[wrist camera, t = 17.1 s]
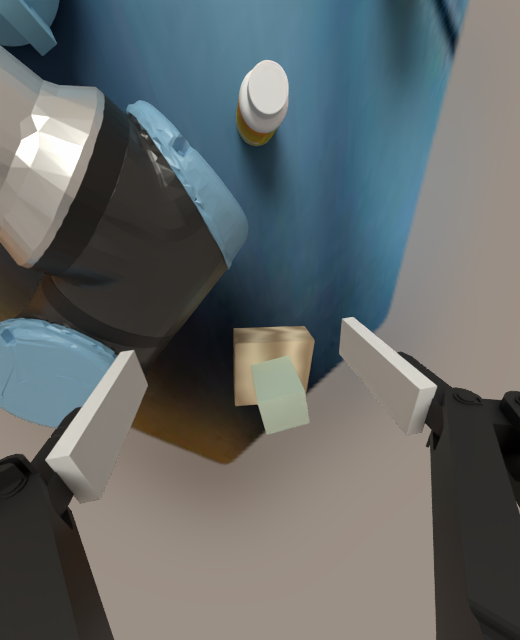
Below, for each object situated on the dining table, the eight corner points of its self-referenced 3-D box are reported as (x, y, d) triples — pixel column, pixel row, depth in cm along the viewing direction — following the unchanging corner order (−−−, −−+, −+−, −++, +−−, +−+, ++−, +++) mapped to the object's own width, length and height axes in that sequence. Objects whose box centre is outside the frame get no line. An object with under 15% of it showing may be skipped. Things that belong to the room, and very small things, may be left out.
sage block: (258, 393, 44) (266, 434, 36) (250, 365, 41) (257, 403, 33) (293, 384, 44) (309, 423, 36) (288, 355, 41) (304, 390, 33)
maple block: (233, 385, 50) (235, 406, 45) (233, 327, 44) (235, 343, 39) (296, 380, 52) (304, 400, 47) (303, 325, 46) (314, 340, 41)
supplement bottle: (264, 155, 33) (279, 135, 24) (229, 132, 31) (231, 102, 22) (282, 112, 31) (306, 74, 22) (246, 85, 29) (256, 32, 20)
